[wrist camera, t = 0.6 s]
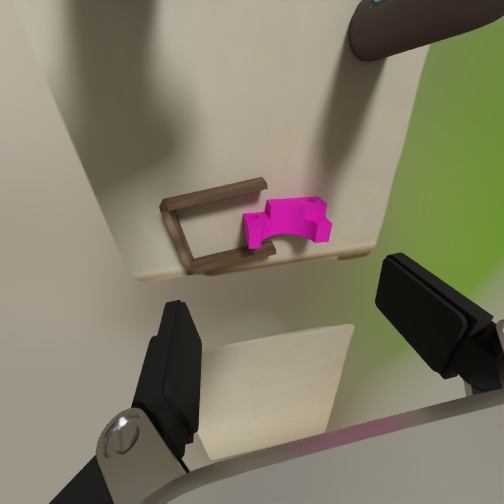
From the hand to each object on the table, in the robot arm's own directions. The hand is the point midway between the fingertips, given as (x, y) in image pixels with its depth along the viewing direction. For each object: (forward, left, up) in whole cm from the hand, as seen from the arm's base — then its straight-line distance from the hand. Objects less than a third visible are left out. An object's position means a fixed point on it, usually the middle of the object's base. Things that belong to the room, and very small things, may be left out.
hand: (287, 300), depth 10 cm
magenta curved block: (+12, +8, -34) cm, 37 cm away
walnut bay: (+11, -4, -34) cm, 35 cm away
